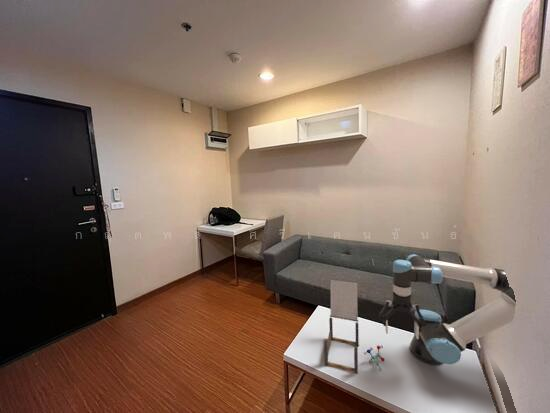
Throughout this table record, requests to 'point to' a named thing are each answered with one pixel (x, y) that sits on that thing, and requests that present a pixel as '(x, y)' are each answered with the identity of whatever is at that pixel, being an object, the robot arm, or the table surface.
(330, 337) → the housing
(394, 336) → the table surface
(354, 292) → the lid
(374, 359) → the molecular model
